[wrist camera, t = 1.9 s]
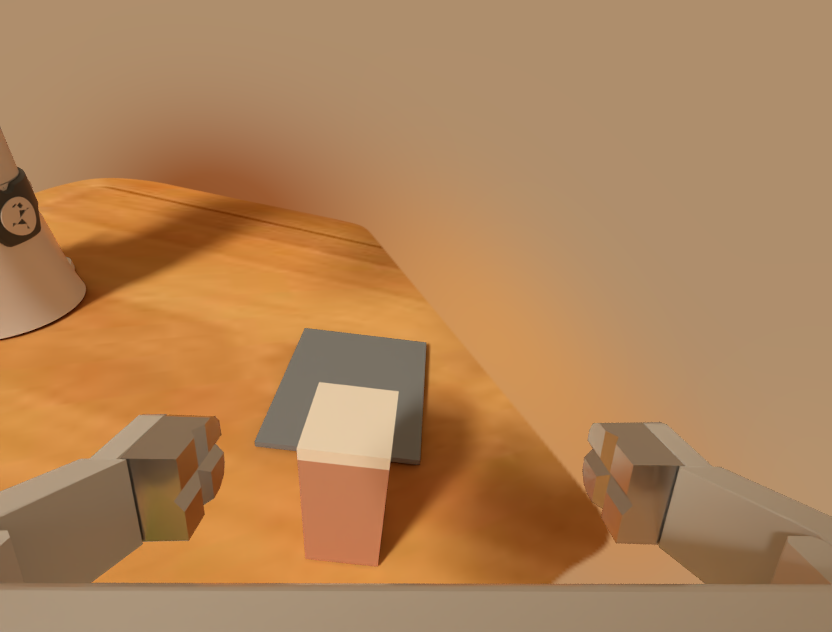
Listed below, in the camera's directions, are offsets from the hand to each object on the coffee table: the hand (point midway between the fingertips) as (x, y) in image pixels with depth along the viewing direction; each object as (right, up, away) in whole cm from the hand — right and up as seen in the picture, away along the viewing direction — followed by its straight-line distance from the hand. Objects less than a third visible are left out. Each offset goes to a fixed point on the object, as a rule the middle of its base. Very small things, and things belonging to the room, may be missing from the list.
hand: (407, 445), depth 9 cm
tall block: (-5, -13, +22) cm, 26 cm away
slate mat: (-6, -4, +34) cm, 34 cm away
